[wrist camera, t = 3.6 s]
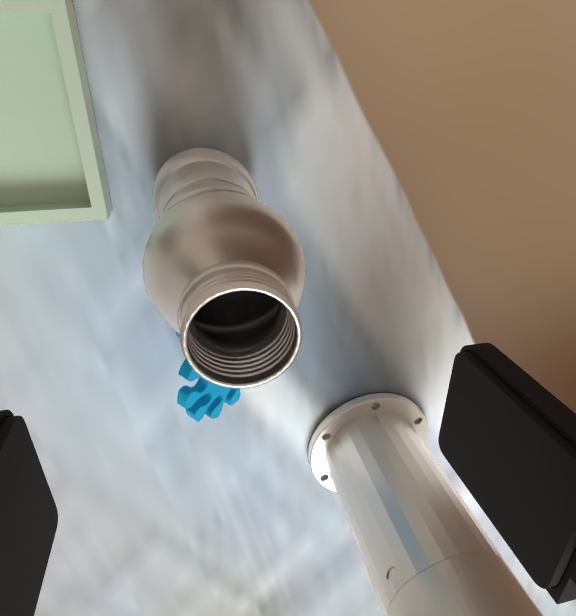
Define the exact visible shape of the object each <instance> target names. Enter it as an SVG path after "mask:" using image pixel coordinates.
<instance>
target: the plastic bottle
mask: <svg viewBox="0 0 576 616" xmlns="http://www.w3.org/2000/svg"><path fill="white" fill-rule="evenodd" d="M152 197H153V205H154V210H155V213H156V216H157V218H158V220H159V221H158V223H157V224H156V225H155V226H154V229H153V231H152V233H151V235H150V237H149V240H148V243H147V245H146V248H145V253H144V258H143V278H144V282H145V286H146V290H147V293H148V295H149V297H150V299H151V301H152V303H153V305H154V306H155V308H156V309H157V311H158V312H159V313H160V315H161V316H162V317H163V318H164V320H165V321H166V322H167V324H168V325H170V326H171V327H172V328H173V329H174V330H176V331H177V332H178V333H179V334H181V336H180V341H181V346H182V350H183V353H184V355H185V357H186V359H187V361H188V363H189V365H190V366H191V367H192V368H193V370H194V371H195V372H196V373H197V374H199V375H200V376H201V377H202V378H204V379H205V380H207V381H209V382H211V383H213V384H216V385H219V386H222V387H228V388H250V387H255V386H259V385H262V384H265V383H267V382H269V381H271V380H273V379H275V378H277V377H278V376H279V375H281V374H282V373H283V372H284V371H285V370H286V369H287V368H288V367H289V366H290V365H291V364H292V362H293V361H294V359H295V358H296V356H297V354H298V351H299V349H300V346H301V339H302V331H301V322H300V319H299V316H298V313H297V311H296V309H297V307H298V306H299V303H300V300H301V297H302V295H303V290H304V283H305V262H304V255H303V251H302V248H301V244H300V242H299V240H298V238H297V236H296V235H295V233H294V231H293V229H292V228H291V227H290V226H289V225H288V223H287V222H286V221H285V220H284V219H283V218H282V217H281V216H280V215H279V214H278V213H276V212H275V211H274V210H273V209H272V208H270V207H269V206H268V205H267V204H265V203H263V202H261V201H259V200H258V196H257V191H256V188H255V185H254V182H253V180H252V178H251V176H250V174H249V173H248V171H247V170H246V169H245V168H244V167H243V165H242V164H241V163H239V162H238V161H237V160H236V159H235V158H233V157H231V156H230V155H228V154H226V153H224V152H221V151H218V150H215V149H210V148H192V149H188V150H185V151H182V152H180V153H178V154H176V155H174V156H172V157H171V158H170V159H169V160H168V161H167V162H165V163H164V165H163V166H162V167H161V169H160V170H159V172H158V174H157V176H156V178H155V181H154V185H153V190H152Z"/></svg>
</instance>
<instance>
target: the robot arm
mask: <svg viewBox="0 0 576 616" xmlns="http://www.w3.org/2000/svg"><path fill="white" fill-rule="evenodd" d="M428 432H429V429H428V424H427V420H426V418H425V416H424V414H423V413H422V412H421V410H420V409H419V408H418V406H417V405H416V404H414V403H413V402H412V401H411V400H409V399H407V398H405V397H403V396H400V395H396V394H392V393H376V394H369V395H365V396H361V397H358V398H356V399H353V400H351V401H349V402H346V403H345V404H343V405H341V406H340V407H338V408H337V409H335V410H334V411H333V412H332V413H330V414H329V415H328V416H327V417H326V418H325V419H324V420H323V421H322V422H321V423H320V425H319V426H318V427H317V429H316V431H315V432H314V434H313V436H312V438H311V441H310V443H309V449H308V460H309V464H310V467H311V470H312V473H313V475H314V477H315V478H316V480H317V481H318V482H319V483H320V484H321V485H322V486H324V487H326V488H327V489H329V490H332V491H335V492H337V494H338V497H339V499H340V502H341V504H342V507H343V509H344V512H345V514H346V517H347V520H348V522H349V525H350V529H351V532H352V533H353V535H354V537H355V540H356V543H357V545H358V548H359V550H360V553H361V555H362V558H363V560H364V563H365V565H366V568H367V571H368V573H369V576H370V578H371V581H372V583H373V586H374V588H375V591H376V594H377V596H378V599H379V601H380V604H381V606H382V609H383V611H384V614H385V616H544V615H543V614H542V613H541V611H540V610H539V609H538V607H537V606H536V604H535V603H534V602H533V600H532V599H531V597H530V596H529V595H528V593H527V592H526V590H525V589H524V588H523V586H522V585H521V583H520V582H519V580H518V579H517V577H516V576H515V574H514V573H513V572H512V570H511V569H510V567H509V566H508V564H507V563H506V561H505V560H504V559H503V557H502V556H501V554H500V553H499V551H498V550H497V548H496V547H495V545H494V544H493V542H492V541H491V539H490V538H489V537H488V535H487V534H486V532H485V531H484V529H483V528H482V526H481V525H480V524H479V522H478V521H477V519H476V518H475V516H474V515H473V513H472V512H471V510H470V509H469V508H468V506H467V505H466V503H465V502H464V500H463V499H462V497H461V496H460V495H459V493H458V492H457V490H456V489H455V487H454V486H453V484H452V483H451V481H450V480H449V479H448V477H447V476H446V474H445V473H444V471H443V470H442V468H441V467H440V466H439V464H438V463H437V461H436V460H435V458H434V457H433V455H432V454H431V452H430V451H429V450H428V448H427V447H426V444H427V440H428ZM439 446H440V449H441V452H442V453H443V455H444V456H445V458H446V459H447V461H448V462H449V463H450V465H451V466H452V468H453V469H454V470H455V472H456V473H457V475H458V476H459V477H460V479H461V480H462V482H463V483H464V484H465V486H466V487H467V489H468V490H469V491H470V493H471V494H472V496H473V497H474V498H475V500H476V501H477V503H478V504H479V505H480V507H481V508H482V510H483V511H484V512H485V514H486V515H487V517H488V518H489V519H490V521H491V522H492V524H493V525H494V526H495V528H496V529H497V530H498V532H499V533H500V535H501V536H502V537H503V539H504V540H505V542H506V543H507V544H508V546H509V547H510V549H511V550H512V551H513V553H514V554H515V556H516V557H517V558H518V560H519V561H520V563H521V564H522V565H523V567H524V568H525V570H526V571H527V572H528V574H529V575H530V577H531V578H532V579H533V581H534V582H535V583H536V584H537V585H538V586H539V587H541V588H543V589H545V588H546V590H547V591H548V593H549V594H550V595H551V597H552V598H553V599H554V601H555V602H556V604H560V603H564V602H567V601H571V600H574V599H576V414H575V413H574V412H573V411H572V410H570V409H569V408H568V407H567V406H566V405H564V404H563V403H562V402H561V401H560V400H558V399H557V398H556V397H555V396H553V395H552V394H551V393H550V392H549V391H548V390H546V389H545V388H544V387H542V385H540V384H539V383H538V382H537V381H536V380H534V379H533V378H532V377H531V376H530V375H528V374H527V373H526V372H525V371H524V370H522V369H521V368H520V367H519V366H517V365H516V364H515V363H514V362H513V361H512V360H510V359H509V358H508V357H507V356H506V355H504V354H503V353H502V352H501V351H500V350H498V349H497V348H496V347H495V346H494V345H492V344H490V343H481V344H473V345H466V346H464V347H463V348H462V349H461V351H460V353H457V354H456V356H455V359H454V364H453V369H452V374H451V379H450V384H449V389H448V393H447V398H446V403H445V408H444V413H443V418H442V423H441V428H440V433H439ZM57 523H58V513H57V508H56V505H55V502H54V499H53V497H52V494H51V491H50V488H49V486H48V483H47V480H46V478H45V475H44V472H43V469H42V467H41V464H40V461H39V459H38V456H37V453H36V450H35V448H34V445H33V442H32V440H31V437H30V434H29V431H28V429H27V426H26V423H25V421H24V419H23V417H22V416H14V415H13V413H12V412H11V411H10V410H2V411H0V616H34V613H35V609H36V605H37V601H38V597H39V594H40V590H41V586H42V582H43V578H44V575H45V571H46V567H47V563H48V559H49V555H50V552H51V548H52V544H53V540H54V536H55V533H56V529H57Z"/></svg>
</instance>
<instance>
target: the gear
mask: <svg viewBox="0 0 576 616" xmlns="http://www.w3.org/2000/svg"><path fill="white" fill-rule="evenodd" d="M176 334H177V336H178V337H180V336H181V334H179V333H178V332H176ZM178 374H179V375H180V376H182V377H183V378H185V379H187V380H188V381H193V380H195V379H197V378H199V380H198V382H197V384H196V385H195V386H194V387H189V386H183V387H182V388H181V389H180V390H179V392H178V397H177V403H178V404H180V405H181V406H183V407H184V408H186V412H187V414H188V415H189V416H190V417H192V418H193V419H195V420H196V421H198V422H199V421H200V420H201V419H202V417H203V416H204V414H206V415H207V416H209V417H211V418H217V417H218V416H219V415H220V413H221V410H222V406H223V403H224V402H225V403H227V404H229V405H233V404H234V403H235V402H236V401H238V400H239V398H240V388H228V387H222V386H219V385H216V384H213V383H211V382H209V381H207V380H205V379H204V378H202V377H201V376H200V375H199V374H197V373H196V372H195V371H194V370H193V368H192V367H191V366H190V365H189V363H188V361H187V359H185V361H184V362H183V364H182V366H181V368H180V371H179V373H178Z"/></svg>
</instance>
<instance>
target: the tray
mask: <svg viewBox="0 0 576 616" xmlns="http://www.w3.org/2000/svg"><path fill="white" fill-rule="evenodd" d="M111 212H112V205H111V200H110V195H109V189H108V184H107V179H106V174H105V168H104V163H103V158H102V153H101V147H100V142H99V137H98V132H97V126H96V121H95V116H94V111H93V105H92V100H91V95H90V90H89V84H88V79H87V74H86V69H85V63H84V58H83V53H82V48H81V42H80V37H79V32H78V27H77V21H76V16H75V11H74V6H73V2H72V1H71V0H0V226H10V225H26V224H42V223H57V222H73V221H88V220H104V219H108V218H109V216H110V214H111Z"/></svg>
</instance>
